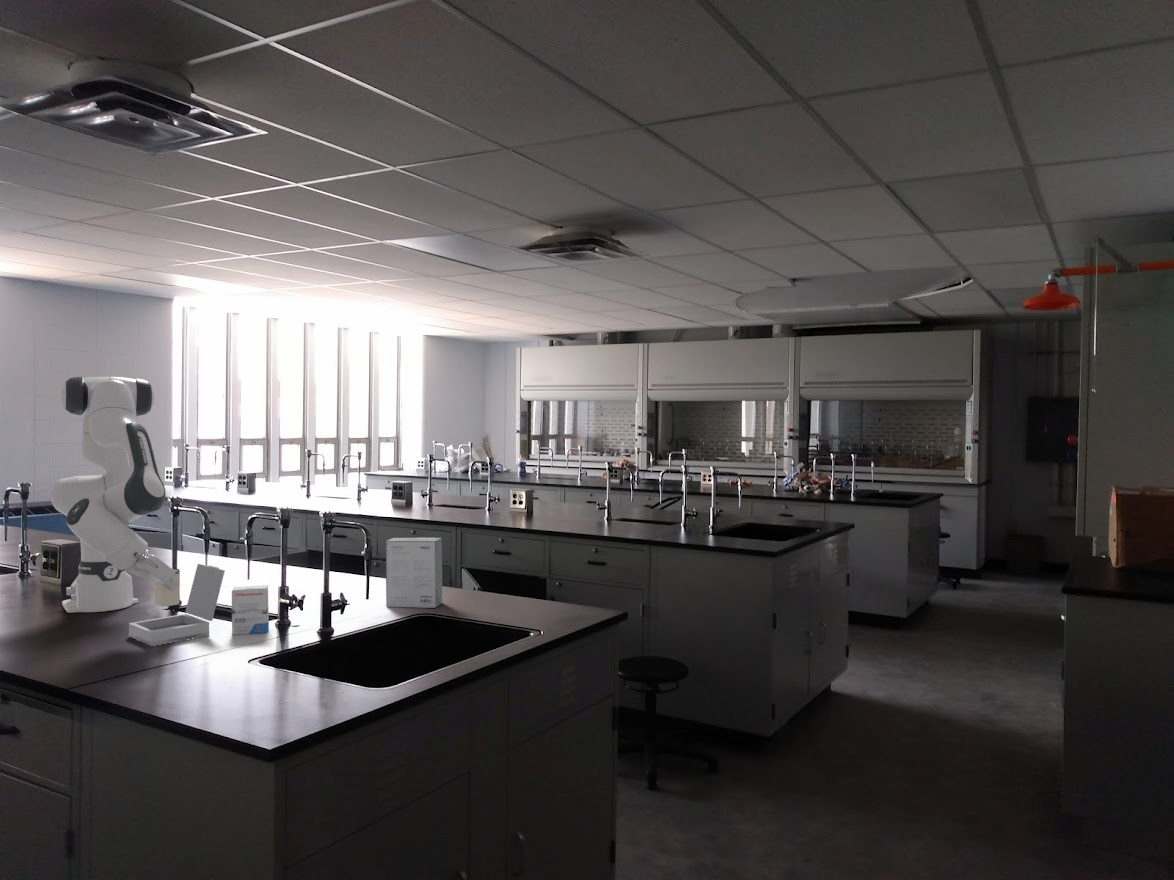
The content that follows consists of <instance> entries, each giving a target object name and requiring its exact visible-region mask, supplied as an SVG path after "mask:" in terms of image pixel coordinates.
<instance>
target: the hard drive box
mask: <svg viewBox="0 0 1174 880" xmlns="http://www.w3.org/2000/svg"><path fill="white" fill-rule="evenodd" d="M442 540H443V539H442V537H392V538H389V539H387V540H385V598H386V600H385V601H386V603H385V604H386V607H387V608H419V609H423V608H424V609H427V608H428V609H429V608H437V607H439V606H440V605H441V604H443V549H442V548H443V541H442Z"/></svg>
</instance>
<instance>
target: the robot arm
mask: <svg viewBox="0 0 1174 880" xmlns="http://www.w3.org/2000/svg"><path fill="white" fill-rule="evenodd" d="M60 394H61V395H60V396H61V402H62V404H63V406H64V409H65V410H66V412H68V413H69V414H71V415H77V416H82V415H83V421H82V423H83V424H82V441H81V443H82V445H81V447H82V448H81V453H82V456H83V458H84V459H85V461H87V462H88V463H90V464H92V465H94V466H97V467H100V468H101V469H104V470H105V471H106V472H105V474H96V475H94V474H93V475H90V474H89V475H74V476H70V477H64V478H60V479H58V480H57V481H56V482H55V483H54V484H53V485H52V487H51V489H50V494H49V499H50V502H51V504H52V506H53V507H54V509H55V510H56V511H58V512H59V513H61V514H62V515H64V516H66V518H65V523H66V525H67V526H68V528H69V529H70V531H72V533H73V534H74V535H75V536H76V537H77V538H78V539H79V542H80V552H81V553H80V555H81V556H80V559H81V560H80V561H79V565H78V571H77V572H78V575H77V577H76V578H75V579H74V581H73V582H72V583H71V584H70V586H69V587H68V586H66V587H65V591H66V592H65V593H66V596H70V598H69V599H65V600H62V601H61V605H62V607H63V609H64V611H66V613H70V614H71V613H98V612H99V613H100V612H108V611H109V612H110V611H116V610H120V609H124V608H128V607H130V606H132V605H134V604H137V603H139V598H135V597H134V591H133V578H132V575H134V576H137V577H140V578H142V579H143V578H144V579H147V580H150V581H152V582H153V583H155V581H157V582H160V583H164V584H165V585H166V586H167V587H168V588H170V589H172V590H174V589H175V588H176V587H177V586H178V584H177V583H176V582H175V581H174V580H173V579H172V578H173V577H174V576H175V574H176V573H175V571H174V570H175V569H174V570H173V568H172V567H170V566H169V565H168V564H167V563H165V562H164V561H163V560H162V559H160V558H159V557H157V556H155V555H154V554H151V553H149V549H148V546H149V545H148V544H149V543H148V542H147V541H146V540H145V539H144V538H142V537H141V536H140V535H139V534H138V533H137V532H135V531H134V530H133V529H131V528H129V527H128V525H129V523H132V522H133V521H135V520H137V519H140V518H141V517H143V516H145V515H148V514H151V513H153V512H157V511H159V510H160V509H161V508H162V507H163V506H164V504H165V502H166V501H165V500H166V488H165V485H164V482H163V480H162V479H161V477H160V474H159V471H158V466H157V462H156V458H155V454H154V450H153V447H152V442H151V440H150V436H149V433H148V432H147V429H146V428H145V427H144V426H143V425H142V424H140V423H139V422H138V418H137V417H140V416H144V415H147V414H149V412H151V409H152V407H153V405H154V404H155V403H154V402H155V394H154V390H153V388H152V385H151V384H150V382H149V381H148V380H147V379H146V380H145V379H142V378H129V377H122V376H111V375H109V376H89V377H88V376H87V377H83V376H73V377H70V378H68V379H67V380H66V381H65V383H64V385H63V387H62V390H61V393H60ZM129 573H130V574H132V575H130V574H129Z"/></svg>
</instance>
